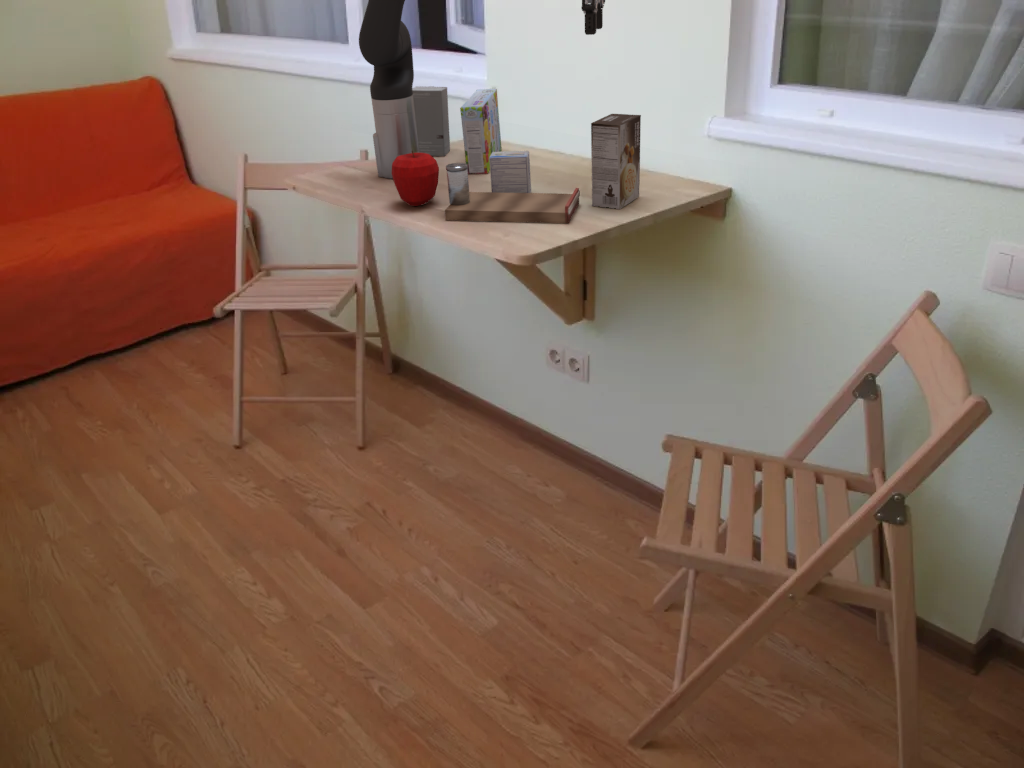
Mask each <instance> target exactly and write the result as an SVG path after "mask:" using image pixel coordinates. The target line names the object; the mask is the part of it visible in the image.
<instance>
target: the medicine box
mask: <svg viewBox="0 0 1024 768" xmlns="http://www.w3.org/2000/svg"><path fill="white" fill-rule="evenodd" d="M530 161H531V160H530V150H506V151H504V150H502V151H501V152H492V154H491V155H490V157H489V162H490V171H489V173H490V175H489V176H490V185H491V187H490V188H491V192H498V193H532V183H531V181H532V180H531V163H530Z"/></svg>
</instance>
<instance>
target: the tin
mask: <svg viewBox="0 0 1024 768" xmlns="http://www.w3.org/2000/svg"><path fill="white" fill-rule="evenodd" d="M467 169H468V165H467V164H466V162H452V163H448V164H447V165H445V171H446V179H447V188H448V201H449V205H450V204H451V205H465V204H468V203H470V196H469V192H470V185H469V174H468V171H467Z"/></svg>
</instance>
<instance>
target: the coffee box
mask: <svg viewBox="0 0 1024 768" xmlns="http://www.w3.org/2000/svg"><path fill="white" fill-rule="evenodd" d="M641 117H642V115H641V114H629V113H628V114H626V113H610V114H608V115H606V116H604V117H602V118H600V119H598V120H596V121H593V122H591V123H590V130H591V131H590V136H591V137H590V139H591V141H590V142H591V143H590V145H591V150H590V151H591V152H590V153H591V206H592V207H598V206H600V207H599V208H606V207H609V208H608V209H614V208H616V209H615V210H622V208H624V207H626V206H627V205H628V204H630V203H631V202H633V201H634V200H636V199H637V198H640V181H641V180H640V179H641V178H640V176H641V175H640V174H641V172H640V171H641V169H640V168H641V167H640V166H641V165H640V164H641V123H642V122H641V119H642V118H641Z"/></svg>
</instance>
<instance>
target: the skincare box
mask: <svg viewBox="0 0 1024 768" xmlns="http://www.w3.org/2000/svg"><path fill="white" fill-rule="evenodd" d="M412 91H413V100H414V109H415V118H416V128H417V137H418V146H419V153H427V154H429V155H431V156H432V157H445V156H446V155H448V153H450V152H451V141H450V140H451V137H450V121H449V102H448V101H449V100H448V98H449V97H448V95H449V94H448V87H447V86H434V85H433V86H431V85H430V86H420V85H419V86H415V87H412Z"/></svg>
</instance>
